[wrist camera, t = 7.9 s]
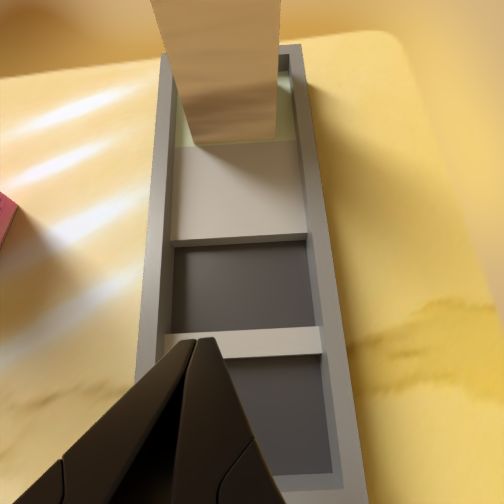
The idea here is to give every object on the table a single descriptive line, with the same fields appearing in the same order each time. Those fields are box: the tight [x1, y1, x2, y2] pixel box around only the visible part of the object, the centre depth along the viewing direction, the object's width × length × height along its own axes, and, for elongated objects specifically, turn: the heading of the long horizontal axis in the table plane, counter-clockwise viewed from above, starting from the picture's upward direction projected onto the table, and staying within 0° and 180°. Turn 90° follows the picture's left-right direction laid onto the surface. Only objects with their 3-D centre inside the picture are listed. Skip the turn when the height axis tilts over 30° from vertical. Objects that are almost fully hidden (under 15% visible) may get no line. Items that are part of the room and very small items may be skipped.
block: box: [150, 0, 281, 144], centre depth 20 cm, size 6×6×10 cm
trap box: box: [134, 44, 369, 504], centre depth 21 cm, size 30×11×3 cm, turn 3°
